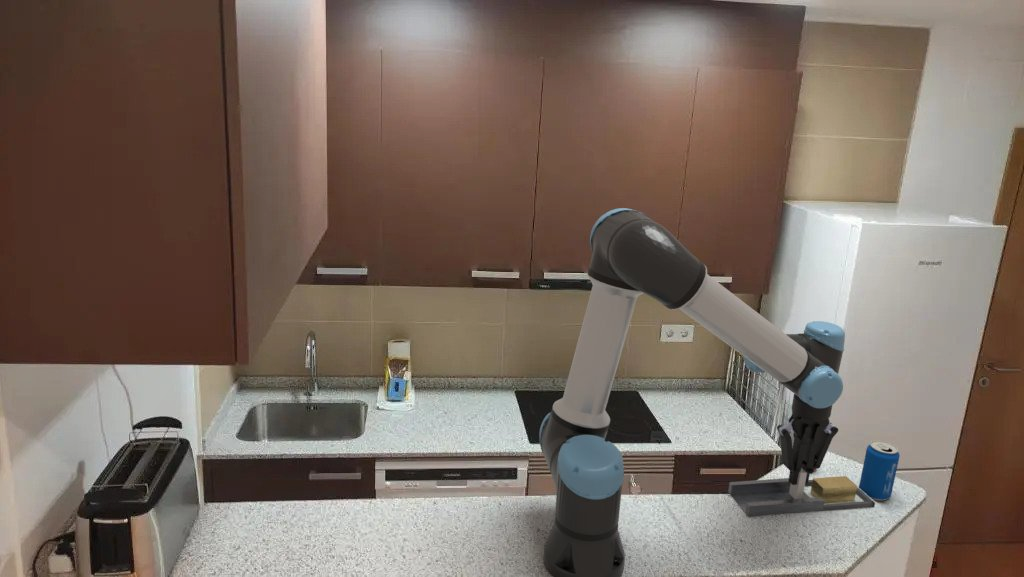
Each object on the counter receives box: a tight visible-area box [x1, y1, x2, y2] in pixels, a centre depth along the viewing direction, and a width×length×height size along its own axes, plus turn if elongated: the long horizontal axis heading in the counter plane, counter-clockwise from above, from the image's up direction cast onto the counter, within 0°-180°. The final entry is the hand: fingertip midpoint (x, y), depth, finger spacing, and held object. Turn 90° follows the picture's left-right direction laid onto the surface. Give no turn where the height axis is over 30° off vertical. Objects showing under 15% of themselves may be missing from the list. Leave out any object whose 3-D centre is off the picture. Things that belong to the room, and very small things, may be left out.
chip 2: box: [829, 475, 858, 503], centre depth 154 cm, size 4×4×4 cm
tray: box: [805, 479, 876, 512], centre depth 155 cm, size 12×10×2 cm
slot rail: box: [727, 477, 826, 518], centre depth 152 cm, size 17×9×4 cm, turn 100°
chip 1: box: [809, 476, 841, 504], centre depth 154 cm, size 4×4×4 cm
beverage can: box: [858, 439, 900, 502], centre depth 157 cm, size 6×6×12 cm
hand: (795, 496), depth 152 cm, fingers closed
